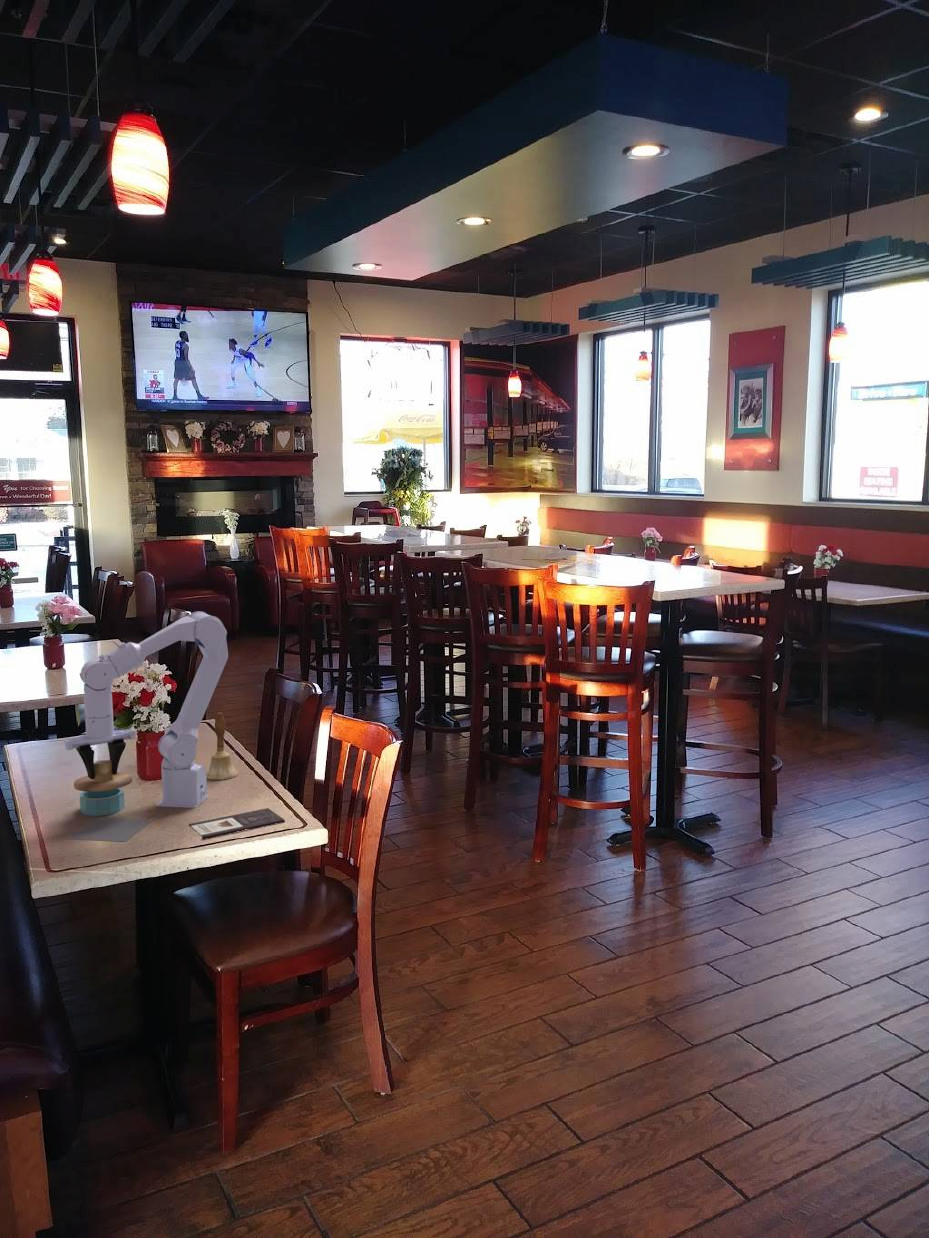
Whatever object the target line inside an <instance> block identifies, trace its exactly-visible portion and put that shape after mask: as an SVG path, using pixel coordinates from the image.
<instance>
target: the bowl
mask: <svg viewBox="0 0 929 1238" xmlns="http://www.w3.org/2000/svg"><path fill="white" fill-rule="evenodd" d="M124 791H125V790H124V788H123V787H121V788H117V789H113V790H107V791H97V792H86V791H80V793H79V810H80V814H82V815H85V816H89V817H90V816H94V817H101V816H106V815H113V814H115V813H118V812H121V811H122V810H124V809H125V792H124Z"/></svg>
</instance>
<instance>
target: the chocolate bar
mask: <svg viewBox="0 0 929 1238" xmlns="http://www.w3.org/2000/svg"><path fill="white" fill-rule="evenodd" d="M285 822H286V821H285V818H283V817H282V816H280V815H279V814H277V813H275V811H273V810H272V809H270V808H269V807H266V808H262V809H261V808H260V809H256V810H252V811H247V812H242V813H236V814H231V815H228V816H222V817H219V818H218V817H216V818H213V819H212V818H211V819H207V820H202V821H198V822H197V821H196V822H193V823H189V824H188V825H189V826H190V828H192V829H193V830H195V832H197V833H198V834H199V835H200V836H201V838H202V839H203V840H207V839H206V838H208V839H213V838H217V837H216V836H218V837H222V836H227V835H230V834H229V833H231V834H235V833H234V832H236V833H238V832H237V831H241V832H243V831H242V830H245V829H250V830H254V828H255V829H259V828H263V827H262V826H264V827H268V826H267V825H269V826H272V825H271V824H273V825H276V824H275V823H278V824H281V823H285ZM245 831H246V830H245ZM226 834H227V835H226ZM221 835H222V836H221ZM212 837H213V838H212Z"/></svg>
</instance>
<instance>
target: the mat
mask: <svg viewBox="0 0 929 1238" xmlns="http://www.w3.org/2000/svg"><path fill="white" fill-rule="evenodd" d="M153 821H154V819H153V818H152V819H149V818H130V817H129V818H127V817H105V816H95V818H93V819H91V820H90V821H89V822H87V823H86V824H85V825H83V826H82V827H81V828H79V829H77V830H76V831H74V832H73V833H72V834H70V835H69V836H68V837H66V838H65V840H77V841H94V842H95V841H96V842H98V841H99V842H118V843H121V842H123V843H127V842H128V841H130V840H131V839H132V838H133V837H135V835H137V834H138V833H139V832H141V831H142V830H143V829H144V828H145V827H146V826H148V825H149V824H151V822H153Z"/></svg>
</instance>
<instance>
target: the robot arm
mask: <svg viewBox="0 0 929 1238" xmlns="http://www.w3.org/2000/svg"><path fill="white" fill-rule="evenodd" d="M227 635H228V631H227V629H226V628H225V626H224V623H223V622H222V620H220V619H219V618H218V617H217V616H213V615H210V614H207V613H206V612H205V611H194V612H192V613H191V614H190V615H186V616H183V617H181V618H179V619H177V620H176V621H174V622H173V623H171V624H169V625H168V626H166V627H164V628H162V629H160V630H159V631H157V632H155V633H154V634H152V635H151V636H149V637H147V638H145V639H144V640H142V641H140V642H139V643H136V642H131V641H129V642H127V643H125V642H121V643H119V644H118V648H115V649H114V650H112V651H110V652H108V653H105V654H100V655H98V659H92V660H87V662H86V663H84V664H83V667H82V668H81V670H80V672H79V676H80V679H81V681H82V682H83V683H84V684H83V692H84V695H83V703H84V704H83V705H84V718H85V719H84V721H85V722H84V723H85V734H84V735H79V736H76V737H73V738H69V739H64V748H65V750H66V751H72V750H74V749H75V750H76V751H77V753H78V755H79V756H80V758H81V760H82V762H83V764H84V767H85V769H86V773H87V776H88V777H89V778H90V779H94V778H95V773H94V763H95V762H94V759H95V750H93V747H91V746H96V745H97V746H98V745H103V744H107V748H108V749H107V750H108V754H109V760H112V773H113V775H116V774H117V772H118V768H119V764H120V761H121V757H122V755H123V753H124V751H125V749H126V745H127V743H126V742H125V740H126V741H127V740H136V731H135V729H132V728H129V729H128V728H127V729H117V730H115V728H114V727H115V725H114V709H113V708H114V707H113V694H112V684H113V683H114V681H115V679H119V678H121V677H122V676H125V675H126V674H128V673H130V672H132V671H134V670H135V669H137V668H139V667H140V666H142V665H144V663H145V660H146V657H148V656H149V655H152V654H154V653H155V652H158V651H160V650H162V649H164V648H166V647H168V646H171V645H172V644H174V643H176V642H178V641H179V642H180V641H182V642H183V641H185V642H195V643H196V644H197V646H198V648H199V650H200V653H202V656H203V657H202V659H201V661H200V664H199V666H198V668H197V671H196V674H195V675H194V678H193V680H192V682H191V685H190V687H189V690H188V691H187V694H186V697H185V699H184V702H183V703H182V706H181V709H180V712H179V713H178V716H177V718H176V720H174V722H173V723H171V724H170V726H169V728H168V730H167V732H166V733H164V735H162V737H160V739H159V741H158V744H157V745H158V751H159V753H160V755H161V756H163V758H162V761H161V764H160V766H161V767H160V768H161V786H162V787H161V789H162V791H161V792H162V799H161V800H160V801H159V802H157V803H156V804H155V807H166V808H167V807H169V808H191V809H195V808H197V807H199V805H201V804H202V803H203V802H204V801H205V800H207V799H208V798H209V795H208V791H207V790H208V787H207V785H208V780H207V778H206V772H207V770H206V767H205V766H203V765H200V764H196V763H195V760H196V756H197V744H198V742H199V728H200V725H201V722H202V720H203V718H204V715H205V714H206V711H207V708H208V706H209V704H210V701H211V699H212V697H213V694H214V692H215V689H216V687H217V685H218V683H219V680H220V678H221V675H222V673H223V670H224V668H225V666H226V663H227V661H228V659H229V651H228V642H227Z"/></svg>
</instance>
